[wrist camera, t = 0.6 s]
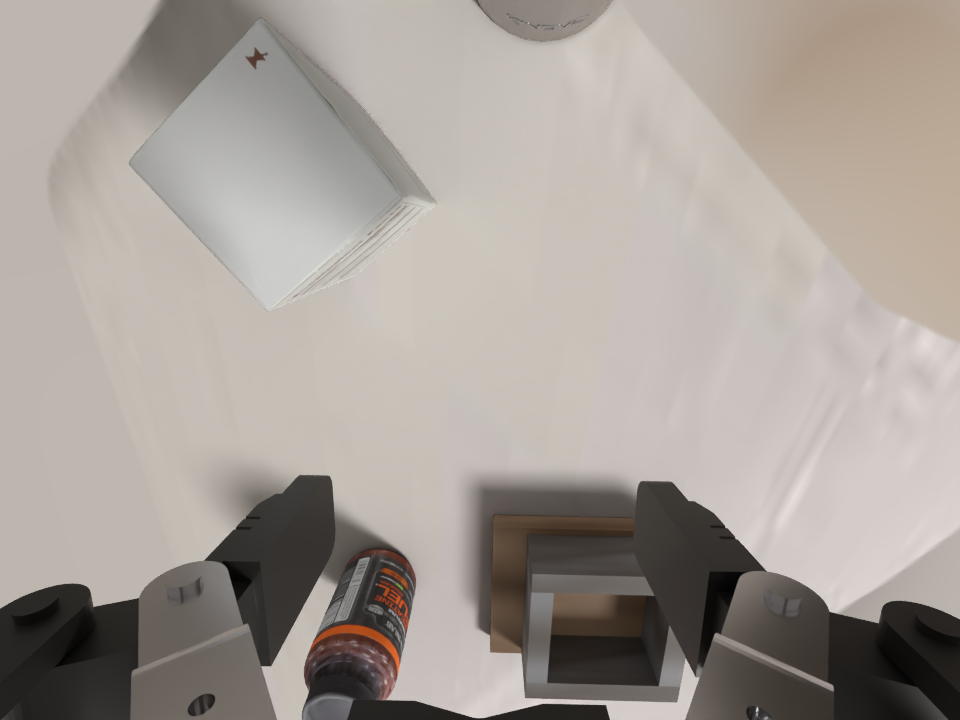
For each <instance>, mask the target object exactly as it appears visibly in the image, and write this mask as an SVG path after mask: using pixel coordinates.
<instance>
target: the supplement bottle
mask: <svg viewBox="0 0 960 720" xmlns="http://www.w3.org/2000/svg"><path fill="white" fill-rule="evenodd" d="M415 588H416V577H415V573H414V571H413V569H412V567H411V565H410V564H409V563H408V562H407V560H405V559H404V558H403V557H402V556H400V555H398V554H396V553H394V552H391V551H389V550H384V549H373V550H367V551H364V552H361V553H359V554H358V555H356V556H355V557H353V558H352V559H351V560H350V562H349V563H348V564H347V566H346V568H345V570H344V572H343V574H342V576H341V579H340V581H339V583H338V586H337V588H336V590H335V593H334V595H333V597H332V600H331V602H330V604H329V607H328V609H327V611H326V613H325V616H324V618H323V621H322V623H321V626H320V628H319V630H318V632H317V635H316V637H315V639H314V641H313V644H312V646H311V649H310V651H309V654H308V656H307V659H306V663H305V667H304V678H305V683H306V686H307V688H308V690H309V694H308V697H307V700H306V702H305V705H304V708H303V711H302V720H347V718H348V715H349V712H350V709H351V705H352V702H353V700H386V699H387V698H388V697H389V695H390V694H391V692H392V690H393V688H394V686H395V683H396V680H397V676H398V671H399V666H400V661H401V657H402V651H403V648H404V643H405V638H406V633H407V628H408V623H409V619H410V614H411V609H412V604H413V599H414V595H415Z"/></svg>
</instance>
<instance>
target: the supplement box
mask: <svg viewBox="0 0 960 720" xmlns="http://www.w3.org/2000/svg"><path fill="white" fill-rule="evenodd" d="M129 165H130V166H131V167H132V169H133V170H134V171H135V172H136V173H137V174H138V175H139V176H140V177H141V178H142V179H143V180H144V181H145V182H146V183H147V184H148V185H149V186H150V188H151V189H152V190H153V191H154V192H155V193H156V194H157V195H158V196H159V197H160V198H161V199H162V200H163V201H164V202H165V203H166V205H167V206H168V207H169V208H170V209H171V210H172V211H173V212H174V213H175V214H176V215H177V216H178V217H179V218H180V219H181V221H182V222H183V223H184V224H185V225H186V226H187V227H188V228H189V229H190V230H191V231H192V232H193V233H194V234H195V235H196V236H197V237H198V238H199V240H200V241H201V242H202V243H203V244H204V245H205V246H206V247H207V248H208V249H209V250H210V251H211V252H212V253H213V254H214V255H215V256H216V258H217V259H218V260H219V261H220V262H221V263H222V264H223V265H224V266H225V267H226V268H227V269H228V270H229V271H230V272H231V273H232V274H233V276H234V277H235V278H236V279H237V280H238V281H239V282H240V283H241V284H242V285H243V286H244V287H245V288H246V289H247V290H248V291H249V292H250V294H251V295H252V296H253V297H254V298H255V299H256V300H257V301H258V302H259V303H260V304H261V305H262V306H263V307H264V309H265V310H267V311H272V310H274V309H277V308H279V307H282V306H284V305H286V304H289V303H291V302H293V301H296V300H299V299H301V298H303V297H306V296H308V295H310V294H312V293H315V292H317V291H319V290H322V289H324V288H327V287H330V286H332V285H335V284H337V283H340V282H342V281H345V280H348V279H350V278H353V277H355V276H356V275H358V274H359V273H360V272H361V271H362V270H363V269H364V268H365V267H366V266H368V265H369V264H370V263H371V262H372V261H373V260H374V259H376V258H377V257H378V256H379V255H380V254H381V253H383V252H384V251H385V250H386V249H387V248H388V247H389V246H391V245H392V244H393V243H394V242H395V241H396V240H398V239H399V238H400V237H401V236H402V235H403V234H404V233H406V232H407V231H408V230H409V229H410V228H411V227H412V226H414V225H415V224H416V223H417V222H418V221H419V220H420V219H422V218H423V217H424V216H425V215H426V214H427V213H428V212H429V211H431V210H432V209H433V208H434V207H435V206H436V204H437V203H436V201H435V200H434V198H433V197H432V196H431V194H430V193H429V192H428V190H427V189H426V188H425V186H424V185H423V184H422V182H421V181H420V180H419V178H418V177H417V176H416V174H415V173H414V172H413V170H412V169H411V168H410V166H409V165H408V164H407V162H406V161H405V160H404V159H403V157H402V156H401V155H400V153H399V152H398V151H397V150H396V148H395V147H394V146H393V145H392V143H391V142H390V141H389V140H388V138H387V137H386V136H385V135H384V133H383V132H382V131H381V130H380V129H379V127H378V126H377V125H376V124H375V122H374V121H373V120H372V119H371V117H370V116H369V115H368V114H367V113H366V111H365V110H364V109H363V107H361V106H360V105H359V104H358V103H357V102H355V101H354V100H353V99H352V98H351V97H350V96H349V95H348V94H347V93H345V92H344V91H343V90H342V89H341V88H340V87H339V86H338V85H337V84H336V83H334V82H333V81H332V80H331V79H330V78H329V77H328V76H327V75H326V74H324V73H323V72H322V71H321V70H320V69H319V68H318V67H317V66H316V65H314V64H313V63H312V62H311V61H310V60H309V59H308V58H307V57H306V56H305V55H303V54H302V53H301V52H300V51H299V50H298V49H297V48H296V47H295V46H293V45H292V44H291V43H290V42H289V41H288V40H287V39H286V38H285V37H283V36H282V35H281V34H280V33H279V32H278V31H277V30H276V29H274V28H273V27H272V26H271V25H270V24H269V23H268V22H267V21H266V20H265V19H263V18H258V19H257V20H256V22H255V23H254V24H253V25H252V26H251V27H250V29H249V30H248V31H247V32H246V33H245V34H244V35H243V37H242V38H241V39H240V40H239V41H238V42H237V43H236V44H235V46H234V47H233V48H232V49H231V50H230V51H229V52H228V53H227V54H226V55H225V56H224V57H223V58H222V60H221V61H220V62H219V63H218V64H217V65H216V66H215V67H214V68H213V69H212V70H211V72H210V73H209V74H208V75H207V76H206V77H205V78H204V79H203V80H202V81H201V82H200V83H199V84H198V85H197V86H196V88H195V89H194V90H193V91H192V92H191V93H190V94H189V95H188V96H187V97H186V99H185V100H184V101H183V102H182V103H181V104H180V105H179V106H178V107H177V108H176V109H175V110H174V111H173V113H172V114H171V115H170V116H169V117H168V118H167V119H166V120H165V121H164V122H163V124H162V125H161V126H160V127H159V128H158V129H157V130H156V131H155V132H154V133H153V134H152V135H151V137H150V138H149V139H148V140H147V141H146V142H145V143H144V144H143V145H142V146H141V147H140V148H139V150H138V151H137V152H136V153H135V154H134V156H133V157H132V158H131V159H130V161H129Z"/></svg>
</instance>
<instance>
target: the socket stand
mask: <svg viewBox="0 0 960 720" xmlns="http://www.w3.org/2000/svg"><path fill="white" fill-rule="evenodd" d="M634 523H635V518H603V517H561V516H518V515H494V521H493V557H492V593H491V629H490V652H497V653H522V664H523V677H524V690H525V698H542V699H577V700H612V701H648V702H677V700H678V695H679V690H680V684H681V679H682V674H683V669H684V664H685V658H686V657H685V655H684V653H683V651H682V649H681V647H680V645H679V643H678V641H677V639H676V637H675V635H674V633H673V631H672V629H671V627H670V625H669V623H668V621H667V619H666V617H665V615H664V614H663V612H662V610H661V608H660V606H659V604H658V602H657V600H656V598H655V596H654V594H653V592H652V590H651V588H650V586H649V584H648V582H647V580H646V578H645V576H644V574H643V572H642V570H641V568H640V566H639V564H638V562H637V559H636V556H635V551H634V543H633V534H634Z"/></svg>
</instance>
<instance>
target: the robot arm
mask: <svg viewBox="0 0 960 720" xmlns="http://www.w3.org/2000/svg"><path fill="white" fill-rule="evenodd" d="M477 1H478V3H479V4H480V6H481V8H482V9H483V10H484V11H485V13H486V14H487V15H488V16H489V17H490V18H491V19H492V20H493V21H494V22H495V23H496V24H497V25H499V26H500V27H502V28H503V29H504V30H506V31H507V32H509V33H511V34H513V35H516V36H518V37H521V38H523V39H527V40H534V41H542V42H543V41H552V40H560V39H563V38H565V37H568V36H571V35H574V34H576V33H578V32H580V31H581V30H583V29H584V28H586V27H587V26H589V25H591V24H592V23H593V22H594V21H595V20H596V19H597V18H598V17H599V16H600V15H601V14H602V13H603V12H604V11H605V10H606V9H607V8H608V6H609V5H610V3H611V2H612V0H477ZM334 541H335V519H334V503H333V487H332V480H331V478H330V476H322V475H299V476H298V477H297V478H296V479H295V480H294V481H293V482H292V483H291V484H290V486H289V487H288V488H287V489H286V490H285V491H284V492H283V493H282V494H275V495H273V496H272V497H270V498H268V499H266V500H265V501H263V502H261V503H260V504H258V505H257V506H256V507H255V508H254V509H253V510H252V511H251V512H250V513H249V514H248V515H247V516H246V519H244V520H243V521H242V522H241V523H240V524H239V525H238V526H237V527H236V530H233V531H232V532H231V533H230V534H229V535H228V536H227V537H226V538H225V539H224V540H223V541H222V543H221V544H220V545H219V546H218V547H217V548H216V549H215V550H214V551H213V552H212V553H211V554H210V555H209V556H208V557H207V558H206V559H205V560H204V561H199V562H193V563H188V564H185V565H182V566H179V567H176V568H174V569H171V570H169V571H167V572H165V573H164V574H162V575H160V576H159V577H157V578H156V579H154V580H153V581H152V582H150V583H149V584H148V585H147V586H146V587H145V588H144V590H143V591H142V593H141V595H140V597H139V598H137V599H133V600H128V601H122V602H117V603H112V604H107V605H102V606H96V607H93V602H92V597H91V593H90V590H89V588H88V587H86V586H84V585H81V584H63V585H56V586H52V587H48V588H45V589H42V590H38V591H36V592H33V593H30V594H28V595H25V596H23V597H21V598H19V599H17V600H15V601H13V602H11V603H9V604H8V605H6V606H4V607H2V608H1V609H0V720H277V719H276V715H275V712H274V708H273V705H272V702H271V698H270V695H269V692H268V688H267V685H266V681H265V678H264V675H263V671H262V668H261V666H271V665H272V664H273V662H274V660H275V658H276V656H277V654H278V652H279V651H280V649H281V647H282V645H283V643H284V641H285V639H286V638H287V636H288V634H289V632H290V630H291V628H292V626H293V625H294V623H295V621H296V619H297V617H298V615H299V613H300V612H301V610H302V608H303V606H304V604H305V602H306V600H307V599H308V597H309V595H310V593H311V591H312V589H313V587H314V586H315V584H316V582H317V580H318V578H319V576H320V574H321V573H322V571H323V569H324V567H325V565H326V563H327V561H328V560H329V558H330V556H331V553H332V550H333V546H334ZM633 543H634V551H635V556H636V559H637V562H638V564H639V566H640V568H641V570H642V572H643V574H644V576H645V578H646V580H647V582H648V584H649V586H650V588H651V590H652V592H653V594H654V596H655V598H656V600H657V602H658V604H659V606H660V608H661V610H662V612H663V614H664V615H665V617H666V619H667V621H668V623H669V625H670V627H671V629H672V631H673V633H674V635H675V637H676V639H677V641H678V643H679V645H680V647H681V649H682V651H683V653H684V655H685V657H686V659H687V661H688V663H689V665H690V667H691V669H692V671H693V673H694V675H695V677H700V678H699V681H698V684H697V687H696V690H695V693H694V696H693V699H692V702H691V705H690V708H689V711H688V713H687V716H686V719H685V720H960V619H958V618H956V617H953V616H952V615H949V614H947V613H945V612H943V611H940V610H938V609H935V608H932V607H929V606H926V605H922V604H918V603H913V602H907V601H892V602H889V603H886V604H885V605H884V606H883V608H882V611H881V616H880V620H879V623H874V622H870V621H866V620H861V619H857V618H853V617H848V616H844V615H840V614H836V613H832V612H829V609H828V607H827V605H826V603H825V602H824V601H823V599H822V598H821V597H820V596H819V595H817V594H816V593H815V592H814V591H813V590H811V589H810V588H808V587H807V586H805V585H803V584H802V583H800V582H798V581H796V580H794V579H791V578H789V577H786V576H783V575H780V574H777V573H772V572H767V571H766V570H765V569H764V568H763V567H762V566H761V565H760V563H759V562H758V561H757V560H756V559H755V558H754V557H753V556H752V555H751V554H750V553H749V551H748V550H747V549H746V548H745V547H744V546H743V545H742V544H741V543H740V542H739V540H736V539H735V536H734V535H733V534H732V533H731V532H730V531H729V530H728V528H725V525H724V524H723V523H722V522H721V521H720V520H719V519H718V518H717V516H716V515H715V514H714V513H713V512H711V511H709V510H708V509H706V508H705V507H703V506H701V505H700V504H698V503H696V502H695V501H688V500H687V499H686V498H685V496H684V495H683V494H682V493H681V492H680V491H679V489H678V488H677V487H676V486H675V485H674V484H673V483H672V482H661V481H641V482H640V483H639V486H638V490H637V501H636V512H635V523H634V534H633ZM347 720H610V719H609V715H608V711H607V708H606V705H572V704H541V705H537V706H533V707H528V708H524V709H520V710H516V711H512V712H508V713H504V714H499V715H495V716H491V717H487V718H472V717H469V716H465V715H462V714H458V713H455V712H451V711H448V710H444V709H441V708H437V707H434V706H431V705H427V704H424V703H420V702H417V701H392V700H353V702H352V705H351V709H350V712H349V715H348V718H347Z"/></svg>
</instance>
